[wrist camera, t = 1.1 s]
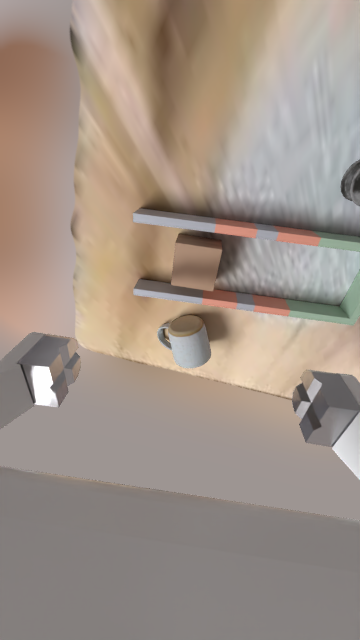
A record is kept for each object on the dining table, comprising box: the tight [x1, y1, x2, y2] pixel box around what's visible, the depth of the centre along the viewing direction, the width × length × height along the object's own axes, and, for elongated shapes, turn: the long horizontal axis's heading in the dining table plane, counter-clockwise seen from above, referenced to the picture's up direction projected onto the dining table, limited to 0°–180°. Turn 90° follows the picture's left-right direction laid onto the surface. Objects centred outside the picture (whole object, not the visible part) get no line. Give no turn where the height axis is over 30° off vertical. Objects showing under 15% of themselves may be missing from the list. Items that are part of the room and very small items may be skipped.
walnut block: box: [171, 234, 222, 291], centre depth 40 cm, size 7×7×5 cm
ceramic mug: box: [157, 315, 211, 368], centre depth 48 cm, size 11×8×8 cm
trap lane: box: [133, 208, 360, 325], centre depth 40 cm, size 13×38×4 cm, turn 84°
